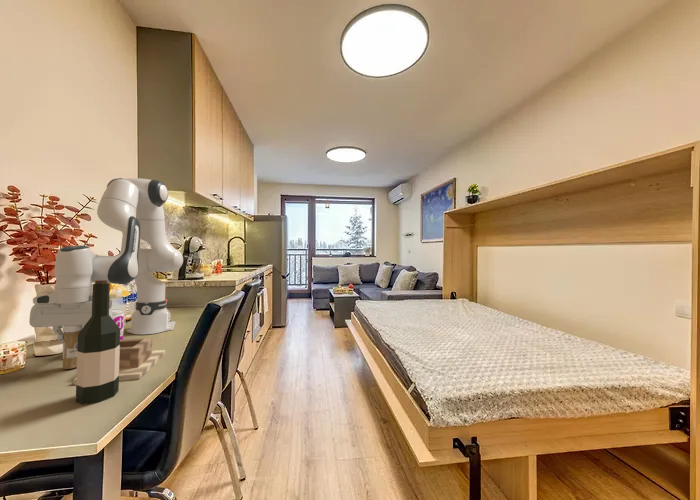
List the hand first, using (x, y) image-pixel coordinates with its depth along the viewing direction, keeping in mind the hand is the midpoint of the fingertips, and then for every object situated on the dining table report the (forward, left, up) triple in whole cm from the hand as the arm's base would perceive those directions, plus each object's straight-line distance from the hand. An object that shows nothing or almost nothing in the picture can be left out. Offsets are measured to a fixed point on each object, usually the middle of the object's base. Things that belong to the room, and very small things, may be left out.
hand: (72, 339), depth 92 cm
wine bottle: (+23, +18, -9) cm, 31 cm away
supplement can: (-16, +3, -9) cm, 19 cm away
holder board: (+3, +16, -9) cm, 19 cm away
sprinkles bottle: (0, 0, -9) cm, 9 cm away
